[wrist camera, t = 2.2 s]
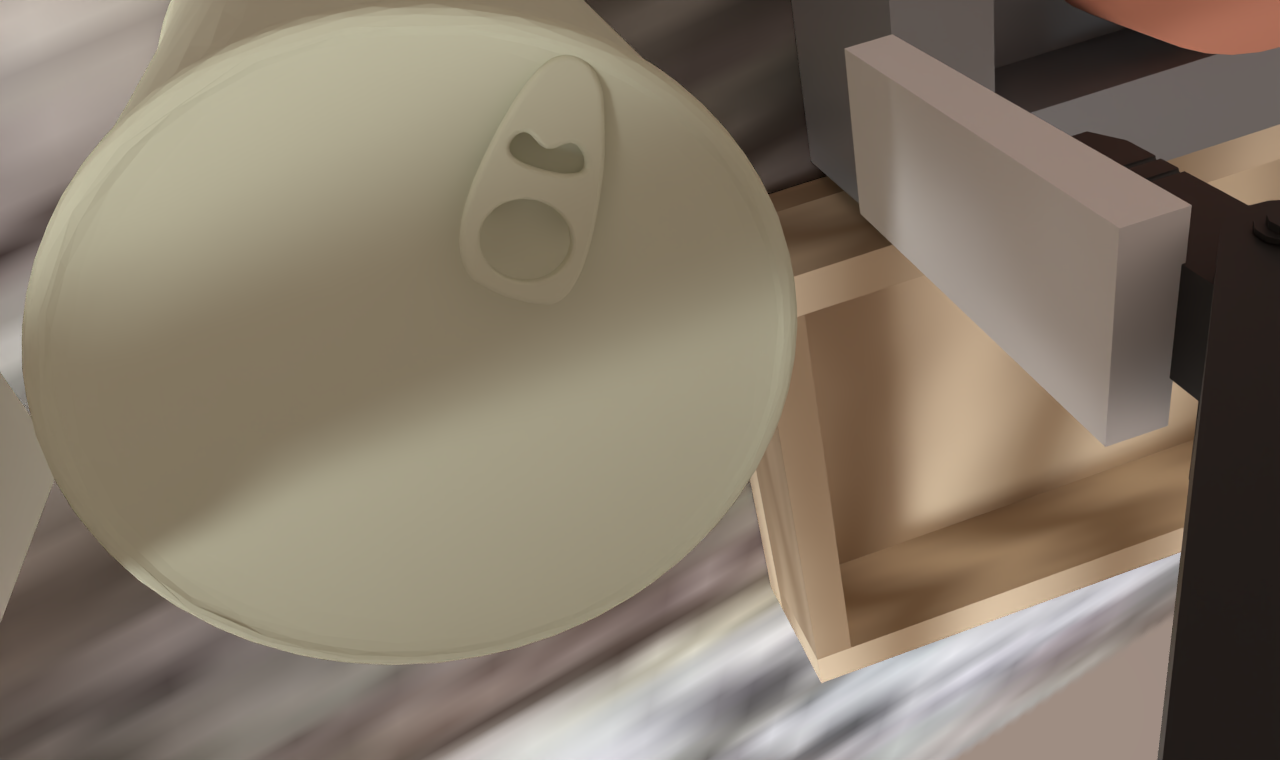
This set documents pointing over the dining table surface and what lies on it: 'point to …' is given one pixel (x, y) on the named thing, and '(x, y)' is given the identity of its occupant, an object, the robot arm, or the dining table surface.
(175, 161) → the can
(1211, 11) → the pad
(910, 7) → the grey square tray
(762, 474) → the wooden tray
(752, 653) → the dining table surface
